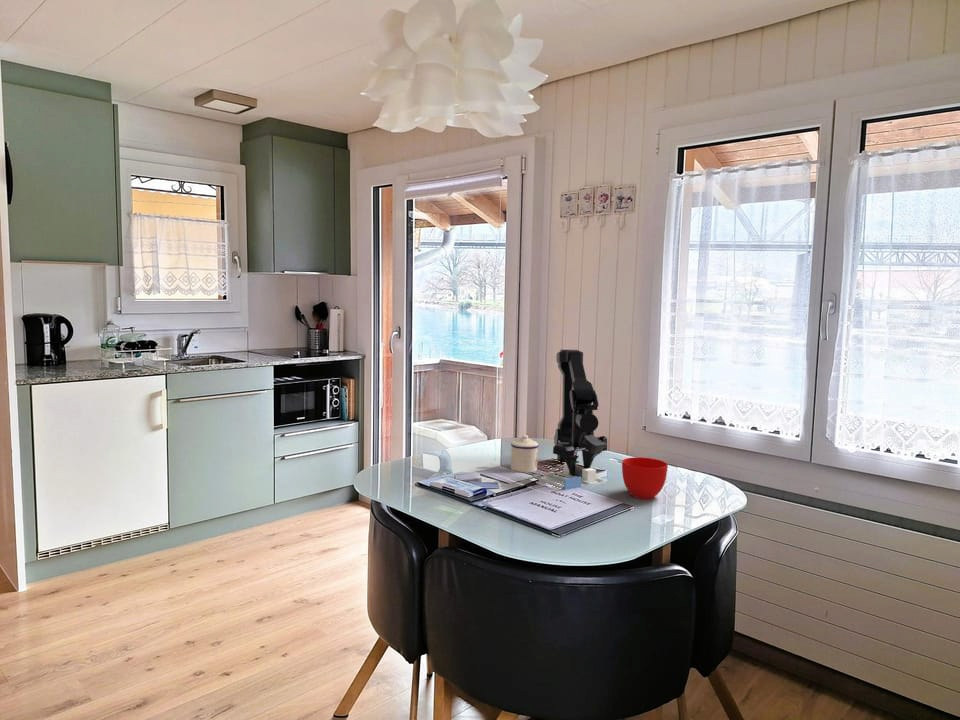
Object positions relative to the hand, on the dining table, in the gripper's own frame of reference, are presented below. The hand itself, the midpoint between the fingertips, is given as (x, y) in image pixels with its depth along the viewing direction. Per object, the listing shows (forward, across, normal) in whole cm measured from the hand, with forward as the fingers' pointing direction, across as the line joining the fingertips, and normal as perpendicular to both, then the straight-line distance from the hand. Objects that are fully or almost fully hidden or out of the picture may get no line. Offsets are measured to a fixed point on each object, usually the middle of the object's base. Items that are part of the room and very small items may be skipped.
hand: (579, 474), depth 216 cm
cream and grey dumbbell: (+1, 0, 0) cm, 1 cm away
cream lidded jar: (+2, -8, +19) cm, 21 cm away
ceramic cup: (+2, +5, -22) cm, 23 cm away
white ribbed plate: (+2, -5, 0) cm, 5 cm away
